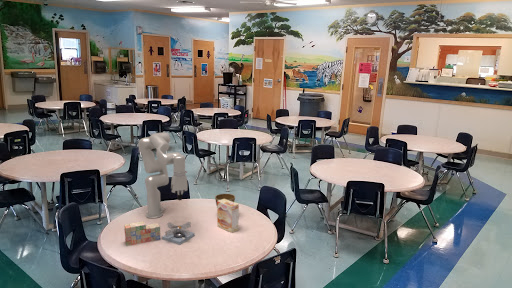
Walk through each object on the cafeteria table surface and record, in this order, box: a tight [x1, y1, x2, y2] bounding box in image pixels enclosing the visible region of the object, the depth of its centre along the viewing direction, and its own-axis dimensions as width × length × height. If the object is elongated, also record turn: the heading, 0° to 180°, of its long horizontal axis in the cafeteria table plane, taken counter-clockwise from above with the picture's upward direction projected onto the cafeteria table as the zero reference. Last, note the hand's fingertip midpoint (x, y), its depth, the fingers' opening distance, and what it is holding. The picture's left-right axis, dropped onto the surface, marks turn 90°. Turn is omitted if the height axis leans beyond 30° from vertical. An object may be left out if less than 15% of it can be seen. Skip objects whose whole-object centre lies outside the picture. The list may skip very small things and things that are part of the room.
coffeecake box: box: [216, 199, 240, 234], centre depth 258 cm, size 15×7×20 cm, turn 47°
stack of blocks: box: [123, 221, 161, 247], centre depth 238 cm, size 21×6×12 cm, turn 116°
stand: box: [161, 231, 196, 246], centre depth 244 cm, size 15×15×2 cm
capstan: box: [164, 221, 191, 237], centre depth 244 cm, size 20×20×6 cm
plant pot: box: [214, 193, 236, 206], centre depth 278 cm, size 15×15×16 cm
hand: (179, 199), depth 247 cm, fingers closed
